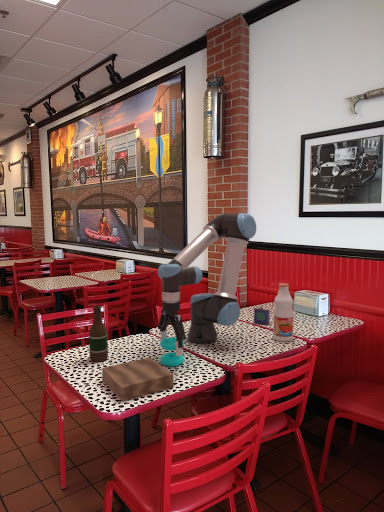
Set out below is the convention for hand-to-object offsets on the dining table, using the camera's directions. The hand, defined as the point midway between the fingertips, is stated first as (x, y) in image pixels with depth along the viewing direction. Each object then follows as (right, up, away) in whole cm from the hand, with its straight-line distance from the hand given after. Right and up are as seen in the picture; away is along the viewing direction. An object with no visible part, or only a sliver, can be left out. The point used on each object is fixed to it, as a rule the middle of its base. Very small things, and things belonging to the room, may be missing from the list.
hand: (171, 350), depth 167 cm
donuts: (0, -6, +1) cm, 6 cm away
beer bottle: (-32, -6, +6) cm, 33 cm away
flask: (+49, +1, +57) cm, 75 cm away
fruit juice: (+55, -2, +31) cm, 63 cm away
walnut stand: (-12, -8, -19) cm, 24 cm away
